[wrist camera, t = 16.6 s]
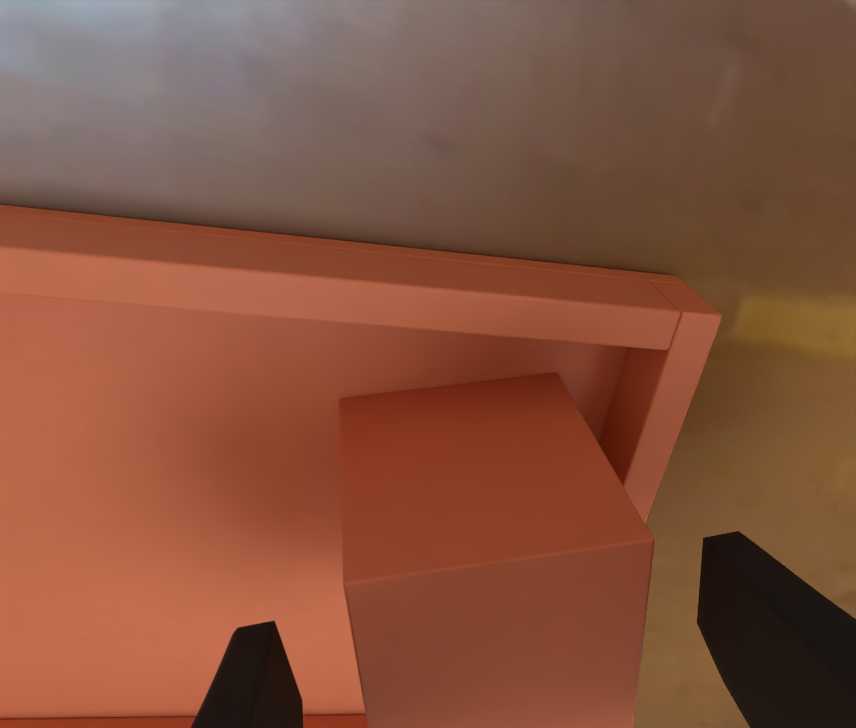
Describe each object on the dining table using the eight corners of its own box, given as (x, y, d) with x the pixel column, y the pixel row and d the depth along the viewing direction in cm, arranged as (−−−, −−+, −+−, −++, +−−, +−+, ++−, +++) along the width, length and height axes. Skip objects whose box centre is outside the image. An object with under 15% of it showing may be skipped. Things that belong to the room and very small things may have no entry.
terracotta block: (558, 371, 15) (655, 539, 10) (553, 537, 17) (633, 734, 12) (338, 398, 14) (342, 584, 10) (362, 563, 16) (376, 776, 12)
